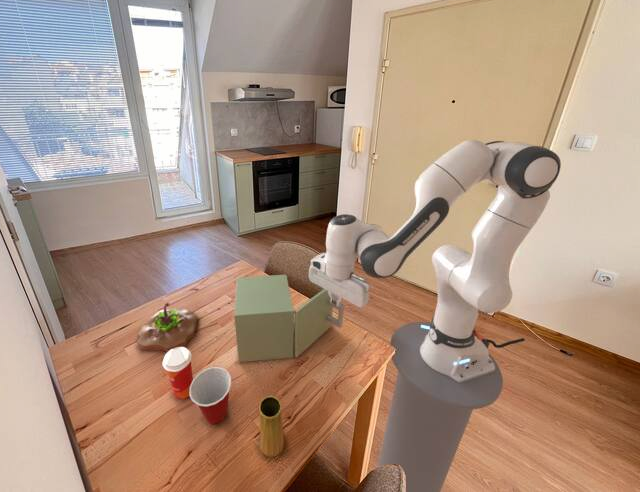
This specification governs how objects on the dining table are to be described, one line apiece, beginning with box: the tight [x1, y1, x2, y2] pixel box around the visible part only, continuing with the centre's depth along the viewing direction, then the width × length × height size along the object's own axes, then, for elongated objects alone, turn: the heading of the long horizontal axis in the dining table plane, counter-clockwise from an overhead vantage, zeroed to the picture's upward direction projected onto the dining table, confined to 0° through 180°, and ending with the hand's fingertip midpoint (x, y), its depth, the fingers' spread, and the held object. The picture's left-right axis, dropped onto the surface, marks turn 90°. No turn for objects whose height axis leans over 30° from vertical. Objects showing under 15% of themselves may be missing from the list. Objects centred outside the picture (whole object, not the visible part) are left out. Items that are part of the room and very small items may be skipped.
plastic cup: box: [189, 366, 232, 425], centre depth 78 cm, size 11×11×12 cm
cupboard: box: [233, 274, 295, 363], centre depth 101 cm, size 18×20×20 cm
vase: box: [258, 395, 285, 458], centre depth 71 cm, size 6×6×14 cm
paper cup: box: [162, 346, 194, 400], centre depth 84 cm, size 8×8×14 cm
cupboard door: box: [294, 288, 345, 358], centre depth 98 cm, size 7×20×19 cm, turn 136°
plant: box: [136, 301, 199, 353], centre depth 106 cm, size 20×20×11 cm
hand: (335, 303), depth 93 cm, fingers closed
